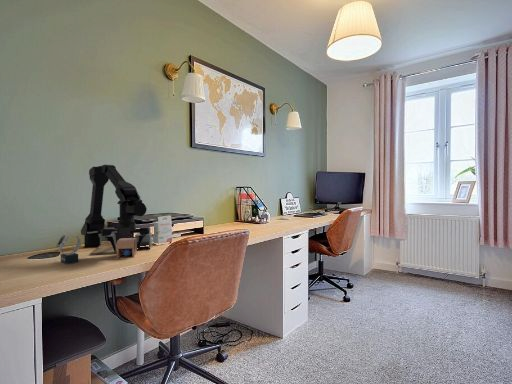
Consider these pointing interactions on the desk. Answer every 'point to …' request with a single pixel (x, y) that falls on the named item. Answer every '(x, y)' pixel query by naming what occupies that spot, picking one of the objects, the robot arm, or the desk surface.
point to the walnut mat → (103, 251)
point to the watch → (68, 257)
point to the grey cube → (144, 240)
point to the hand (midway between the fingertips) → (126, 251)
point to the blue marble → (127, 252)
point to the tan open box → (126, 246)
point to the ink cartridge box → (162, 230)
